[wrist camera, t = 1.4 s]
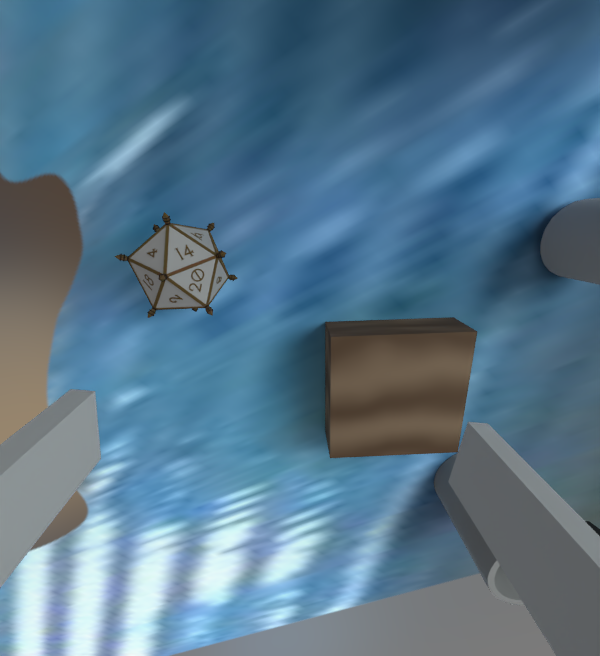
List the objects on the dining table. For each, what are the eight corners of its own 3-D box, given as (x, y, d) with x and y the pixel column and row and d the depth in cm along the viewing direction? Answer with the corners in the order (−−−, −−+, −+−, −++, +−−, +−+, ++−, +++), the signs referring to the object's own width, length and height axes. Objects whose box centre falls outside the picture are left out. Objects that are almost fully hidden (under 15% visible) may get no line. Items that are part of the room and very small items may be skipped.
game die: (180, 195, 30) (131, 184, 21) (257, 247, 32) (245, 259, 22) (138, 274, 32) (76, 297, 23) (212, 319, 34) (184, 358, 25)
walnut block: (325, 320, 35) (330, 336, 30) (451, 316, 35) (477, 331, 31) (325, 429, 40) (330, 458, 35) (437, 424, 40) (457, 452, 35)
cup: (440, 512, 44) (494, 614, 33) (428, 461, 41) (481, 554, 30) (506, 493, 43) (584, 590, 32) (498, 441, 41) (579, 527, 29)
